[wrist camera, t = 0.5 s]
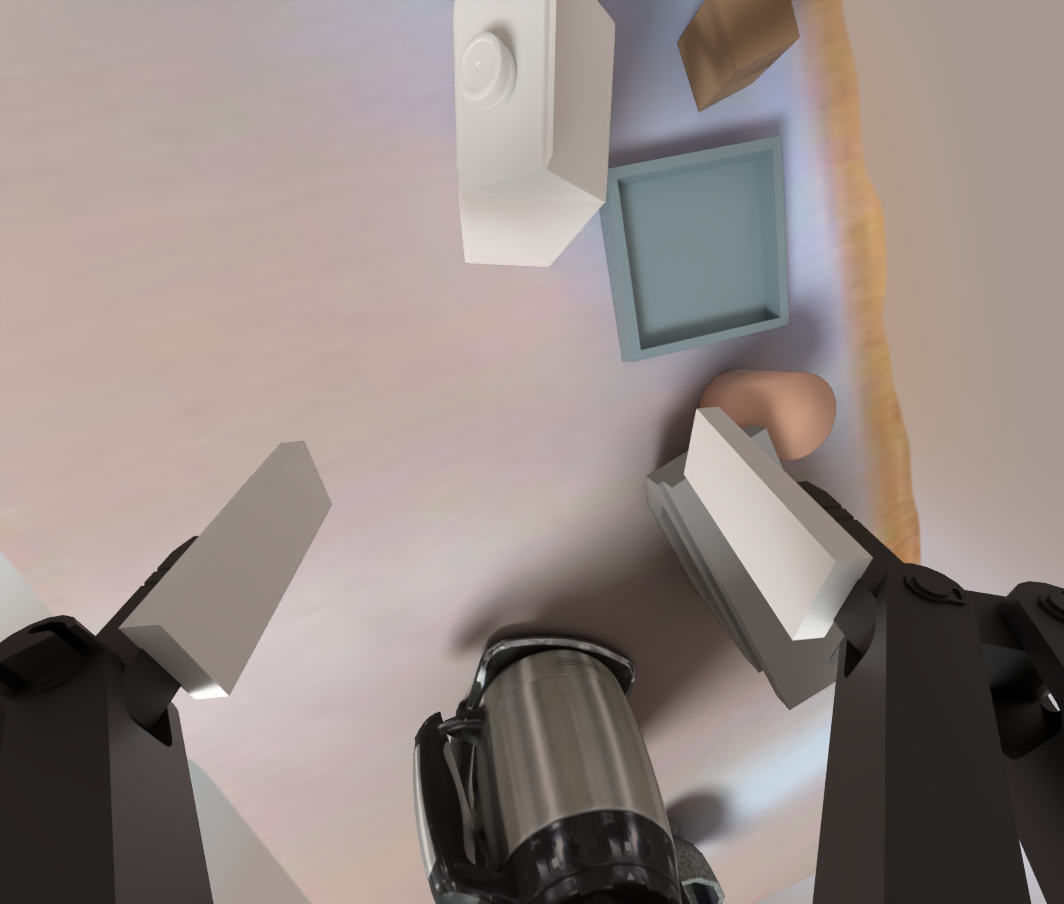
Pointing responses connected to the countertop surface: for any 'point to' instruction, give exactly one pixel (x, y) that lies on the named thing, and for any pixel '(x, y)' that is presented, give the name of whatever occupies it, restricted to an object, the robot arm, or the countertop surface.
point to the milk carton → (530, 124)
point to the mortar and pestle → (695, 872)
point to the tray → (697, 247)
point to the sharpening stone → (738, 586)
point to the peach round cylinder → (776, 406)
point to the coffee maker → (543, 785)
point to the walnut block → (734, 45)
